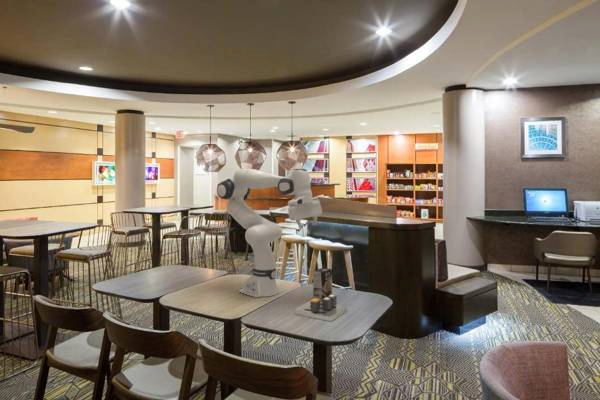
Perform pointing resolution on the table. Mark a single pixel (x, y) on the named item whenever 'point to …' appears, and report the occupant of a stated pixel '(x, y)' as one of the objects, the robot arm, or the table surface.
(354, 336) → the table surface
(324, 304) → the block
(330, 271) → the coffee box
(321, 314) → the panel
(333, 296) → the breaker
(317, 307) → the breaker
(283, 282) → the table surface
